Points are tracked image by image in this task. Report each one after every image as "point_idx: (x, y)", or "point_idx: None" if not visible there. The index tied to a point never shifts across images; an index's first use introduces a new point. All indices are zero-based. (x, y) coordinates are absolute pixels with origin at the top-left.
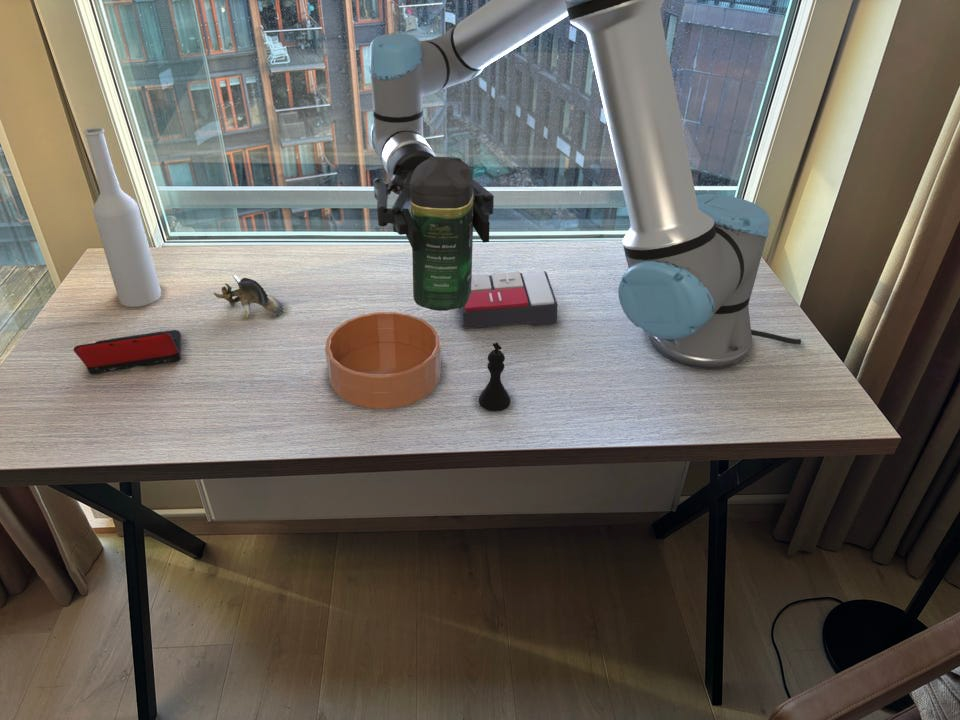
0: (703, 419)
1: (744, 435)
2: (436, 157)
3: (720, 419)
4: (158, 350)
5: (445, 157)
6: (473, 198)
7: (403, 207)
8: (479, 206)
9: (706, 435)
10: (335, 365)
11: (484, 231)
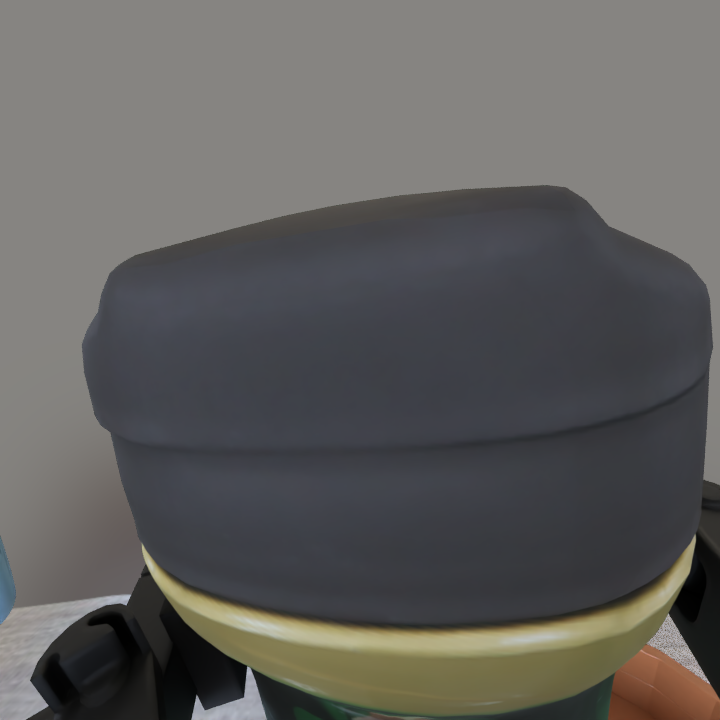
0: (33, 647)
1: (24, 612)
2: (440, 192)
3: (11, 648)
4: None
5: (314, 217)
6: (125, 708)
7: (704, 564)
8: (150, 625)
9: (69, 610)
10: (680, 665)
11: None
